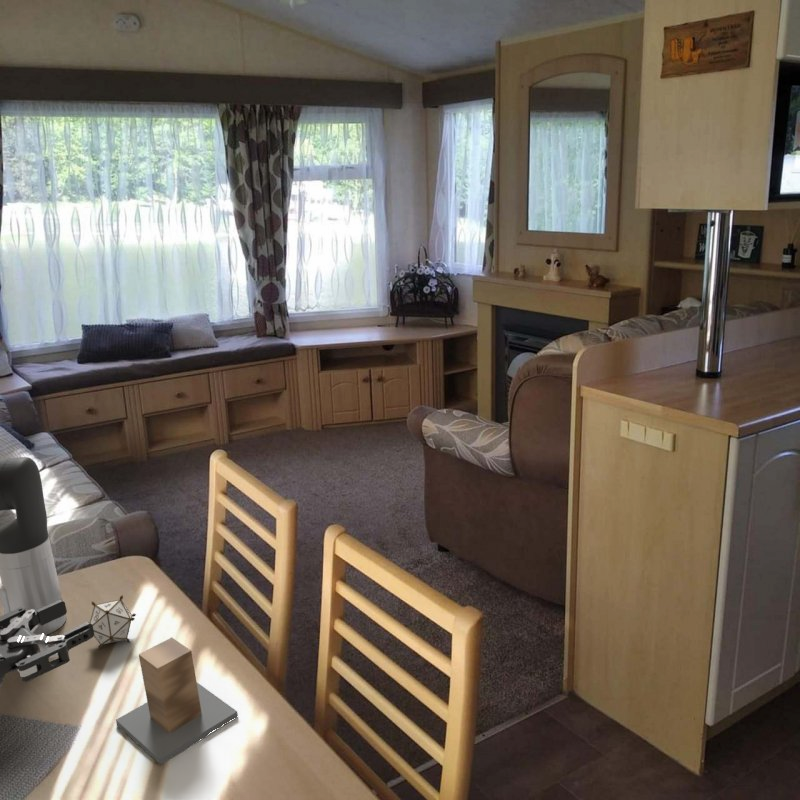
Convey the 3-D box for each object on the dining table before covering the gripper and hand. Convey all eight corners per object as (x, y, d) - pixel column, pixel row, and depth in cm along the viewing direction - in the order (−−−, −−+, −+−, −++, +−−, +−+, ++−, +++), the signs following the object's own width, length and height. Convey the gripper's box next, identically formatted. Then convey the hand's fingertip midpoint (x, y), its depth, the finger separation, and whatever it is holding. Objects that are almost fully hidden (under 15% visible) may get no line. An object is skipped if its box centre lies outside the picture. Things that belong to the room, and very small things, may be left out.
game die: (122, 664, 143) (114, 643, 135) (79, 646, 143) (69, 624, 136) (148, 619, 148) (142, 596, 140) (107, 602, 149) (98, 579, 141)
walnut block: (169, 733, 117) (157, 668, 114) (150, 717, 120) (138, 654, 117) (201, 713, 120) (191, 650, 117) (182, 699, 124) (171, 637, 121)
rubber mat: (160, 765, 112) (159, 759, 112) (116, 725, 121) (115, 719, 120) (238, 717, 121) (237, 711, 120) (191, 683, 130) (191, 677, 129)
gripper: (-35, 674, 93) (96, 611, 104) (-74, 629, 103) (50, 576, 114) (-20, 726, 96) (107, 660, 107) (-59, 678, 105) (61, 621, 116)
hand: (78, 616), depth 110 cm, fingers open, 8 cm apart
